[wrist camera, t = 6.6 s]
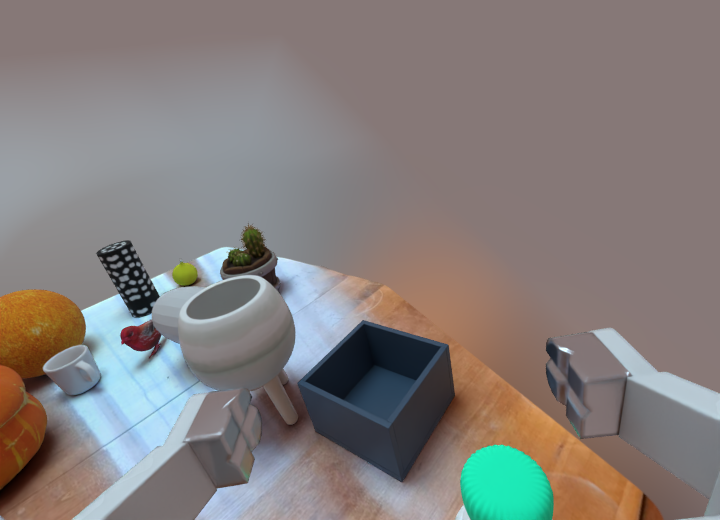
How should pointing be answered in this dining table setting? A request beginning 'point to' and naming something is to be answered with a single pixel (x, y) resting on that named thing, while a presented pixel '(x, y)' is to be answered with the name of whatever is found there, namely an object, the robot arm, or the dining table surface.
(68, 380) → the cup
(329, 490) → the dining table surface
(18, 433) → the pumpkin
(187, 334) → the planter
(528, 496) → the water bottle
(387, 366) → the bin
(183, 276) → the yellow-green rounded piece
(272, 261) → the flowerpot
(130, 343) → the decorative bird figurine
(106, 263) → the white-spotted black cylinder
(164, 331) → the jet engine
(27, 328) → the decorative sphere
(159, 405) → the dining table surface
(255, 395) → the dining table surface
